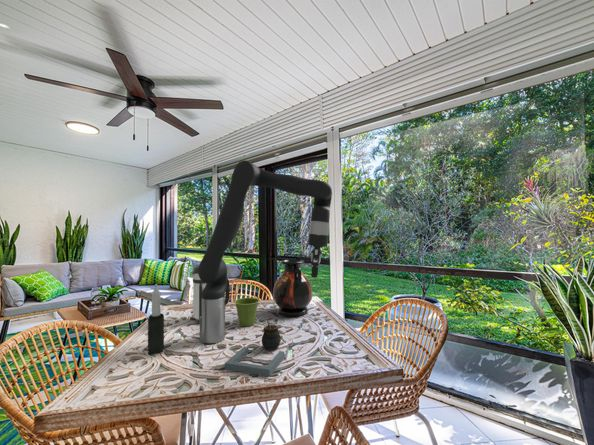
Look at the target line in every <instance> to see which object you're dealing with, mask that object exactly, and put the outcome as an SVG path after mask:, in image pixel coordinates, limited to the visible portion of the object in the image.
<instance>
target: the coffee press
mask: <svg viewBox="0 0 594 445" xmlns="http://www.w3.org/2000/svg"><path fill="white" fill-rule="evenodd" d="M198 268H199V265H196V266H195V267H194V268H193V269H192V272H191V274H190V277H189V278H192V284H193V285H192V286H193V287H192V291H193V292H192V293H193V294H192V295H193V296H192V301H193V302H192V304H193V306H192V313H193V314H192V316H191V318H190V319H191V320H192V321H193V320H197V324H198V325H200V316H202V291H203V289H204V288H205V286H206V283H207V282H203V281H202V280H201V279H200V278H199V275H198ZM229 302H230V280H229V279H228V277H227V287H226V291H225V306H226V305H228V303H229Z"/></svg>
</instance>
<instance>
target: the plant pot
mask: <svg viewBox="0 0 594 445" xmlns="http://www.w3.org/2000/svg"><path fill="white" fill-rule="evenodd" d="M259 302H260V299H259V298H256V297H243V298H238V299H235V300H234V304H235V307H236V311H237V318H238V324H239V326H240V327H243V328H244V327H252V326H255V324H256V318H257V311H258V305H259Z"/></svg>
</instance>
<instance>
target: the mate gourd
mask: <svg viewBox="0 0 594 445" xmlns="http://www.w3.org/2000/svg"><path fill="white" fill-rule="evenodd" d="M265 320H266V322H267V325H264V326H263V334H262V337H261V344H262V346H263V348H264V350H267V351H274V350H277V349H278V348H279V347H280V345H281V344H280V343H281V340H282V339H281V335H280V332H279V326H278V325H277V324H270V322H269V319H268V318H266V319H265Z"/></svg>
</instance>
